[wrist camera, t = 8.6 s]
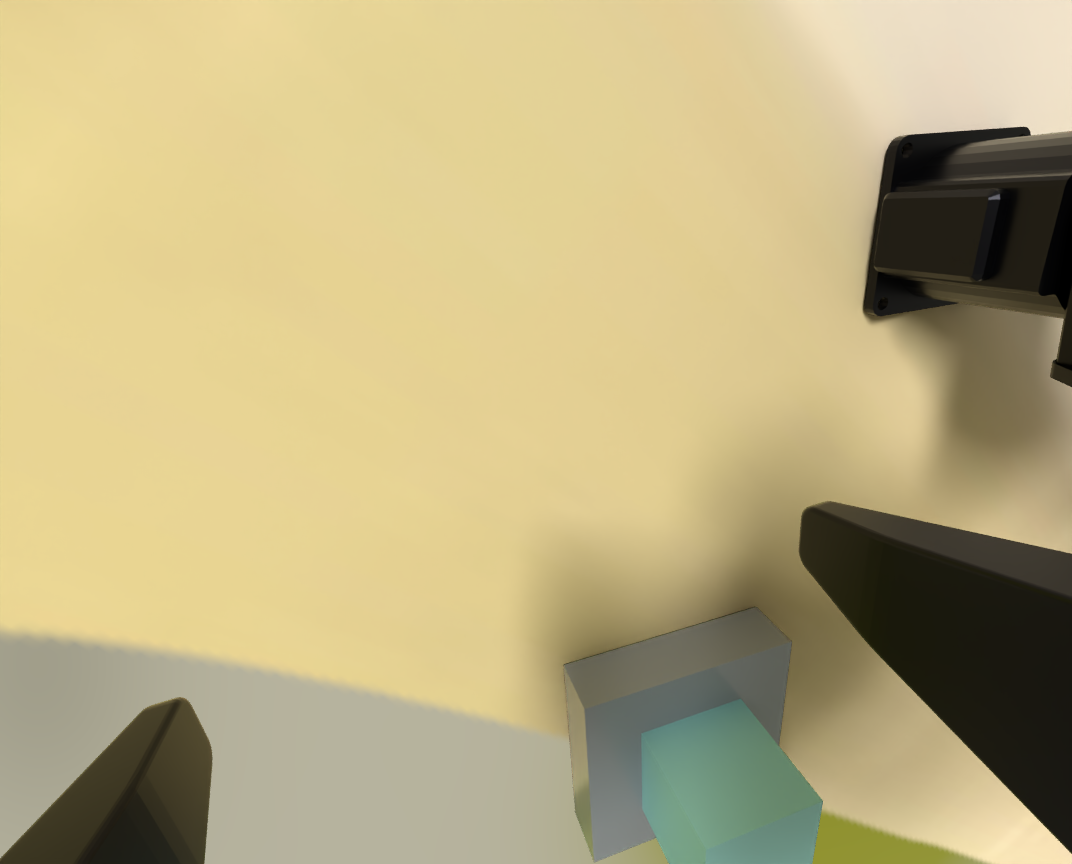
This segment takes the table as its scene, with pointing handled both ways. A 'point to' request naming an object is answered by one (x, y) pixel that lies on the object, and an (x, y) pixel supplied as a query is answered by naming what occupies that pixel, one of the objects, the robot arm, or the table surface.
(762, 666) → the tile
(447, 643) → the table surface
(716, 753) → the cube
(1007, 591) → the robot arm
